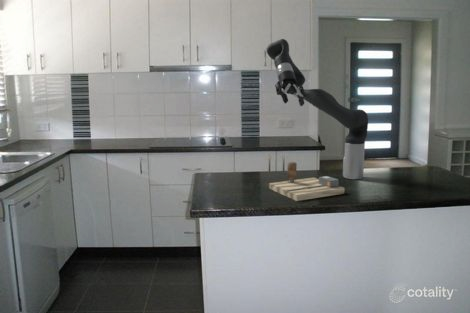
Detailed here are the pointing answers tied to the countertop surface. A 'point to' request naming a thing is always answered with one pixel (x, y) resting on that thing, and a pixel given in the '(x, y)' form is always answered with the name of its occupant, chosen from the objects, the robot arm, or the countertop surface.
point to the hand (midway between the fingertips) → (294, 103)
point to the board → (305, 189)
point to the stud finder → (328, 181)
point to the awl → (291, 171)
